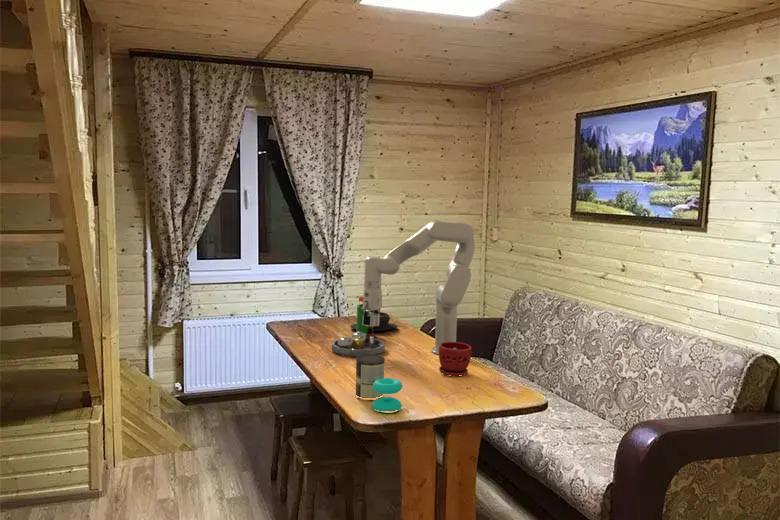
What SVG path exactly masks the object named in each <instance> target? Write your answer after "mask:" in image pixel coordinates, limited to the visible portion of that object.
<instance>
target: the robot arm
mask: <svg viewBox="0 0 780 520" xmlns="http://www.w3.org/2000/svg"><path fill="white" fill-rule="evenodd" d="M474 234H475V231H474V228H473V227H472V226H471V224H469V223H465V222H462V221H458V222H447V221H446V222H445V221H441V220H432V221H430V222H429V223H427V224H426V225H425V226H423V227H422V228H421V229H420V230H419V231H417V232H416V233H414V234H413V235H412V236H410V237H409V238H408V239H407V240H405V241H404V242H403V243H401V244H400V245H398V246H396V247H395V248H393V249H392V250H391V251H389V252H388V253H387V254H386V255H384V257H383V258H381V257H378V256H367V257H366V258H365V261H364V281H363V282H364V283H363V287H364V290H363V296H362V297H363V302H362V304H363V306H362V308H361V309H362V313H363V324H364V325H370V316H369V315H370V312H371V311H373V312H374V313H377V314H379V313H380V312H381V311H380V310H381V309H382V307H383V295H382V294H383V293H382V274H384V275H391V276H392V275H396V274H397V273H398V272H399V271H400V265H402V264H404V263H405V262H406V261H407V260H409V259H410V258H412V257H416V256H418V255H420V254H422V253H423V252H424V253H425V251H426V250H427V249H429V248H430V247H431V246H432V245H434V244H435V243H436V242H444V243H445V242H447V243H455V249H454V253H453V255H452V257H451V260H450V262H449V264H448V266H447V268H446V277H447V280H446V283H442V284H440V285H439V286H438V287H437V289H436V292H435V337H434V340H435V341H434V347H432V348H431V353H432V354H436V355H439V345H440V344H441V343H443V342H457V323H458V306H459V305H460V304H461V302H462V300H463V298H464V296H465V294H466V291H467V289H468V288H469V287H468V286H469V284H470V282H471V278H472V273H471V270H470V265H471V263H472V260H473V257H474V254H475V250H476V243H475V238H474ZM367 311H368V313H367ZM449 349H451V348H449ZM453 349H455V350H457V348H453Z"/></svg>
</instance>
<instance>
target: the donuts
mask: <svg viewBox="0 0 780 520" xmlns="http://www.w3.org/2000/svg"><path fill="white" fill-rule="evenodd" d="M373 388H374V389H375V390H376V391H377V392H379V393H382V394H384V395H393V394H397V393H399V392H401V391H402V389H403V383H402V381H401V380H399V379H396V378H392V377H384V378H381V379H378V380H376V381H374V383H373ZM402 406H403V403H402V402H401V401H400V400H399V399H398V398H395V397H392V396H384V397H381V398H378V399H376V400H375V401H372V409H373V408H374V409H376V410H379V411H395V410H399V409H402V408H401V407H402ZM374 409H373V410H374Z"/></svg>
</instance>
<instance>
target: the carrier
mask: <svg viewBox="0 0 780 520" xmlns="http://www.w3.org/2000/svg"><path fill="white" fill-rule="evenodd" d="M385 343H386V342H385V341H382V340H381V339H378V338H375V336H374V337H372V336H371V337H370V338H366V333H364V332H356V331H354V332H352V333H351V337H349V336H339V337H337V339H336V340H335V339H334V340H333V341H332V343H331V351H332V353H334V354H335V353H336V355H338V354H339V355H338V356H341V355H344V356H343V357H347V356H350V358H357V357H358V356H362V355H378V354H380V355H382V354H384V353H383V352H385V351H386V347H385V346H386V345H385ZM384 350H385V351H384ZM381 353H382V354H381ZM378 356H379V355H378Z"/></svg>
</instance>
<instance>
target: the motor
mask: <svg viewBox="0 0 780 520" xmlns="http://www.w3.org/2000/svg"><path fill="white" fill-rule="evenodd" d="M358 302H362V304H357V307H356V324H357V326H356V329H355V330H356V331H355V332H364V333H366V338H370V337H371V336H372V337H374V338H375V332H373V327H372V326H366V325H363V313H362V309H361V308H362V306H363V296H359V297H358ZM367 313H368V311H367ZM371 313H374V312H373V311H371Z"/></svg>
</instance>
